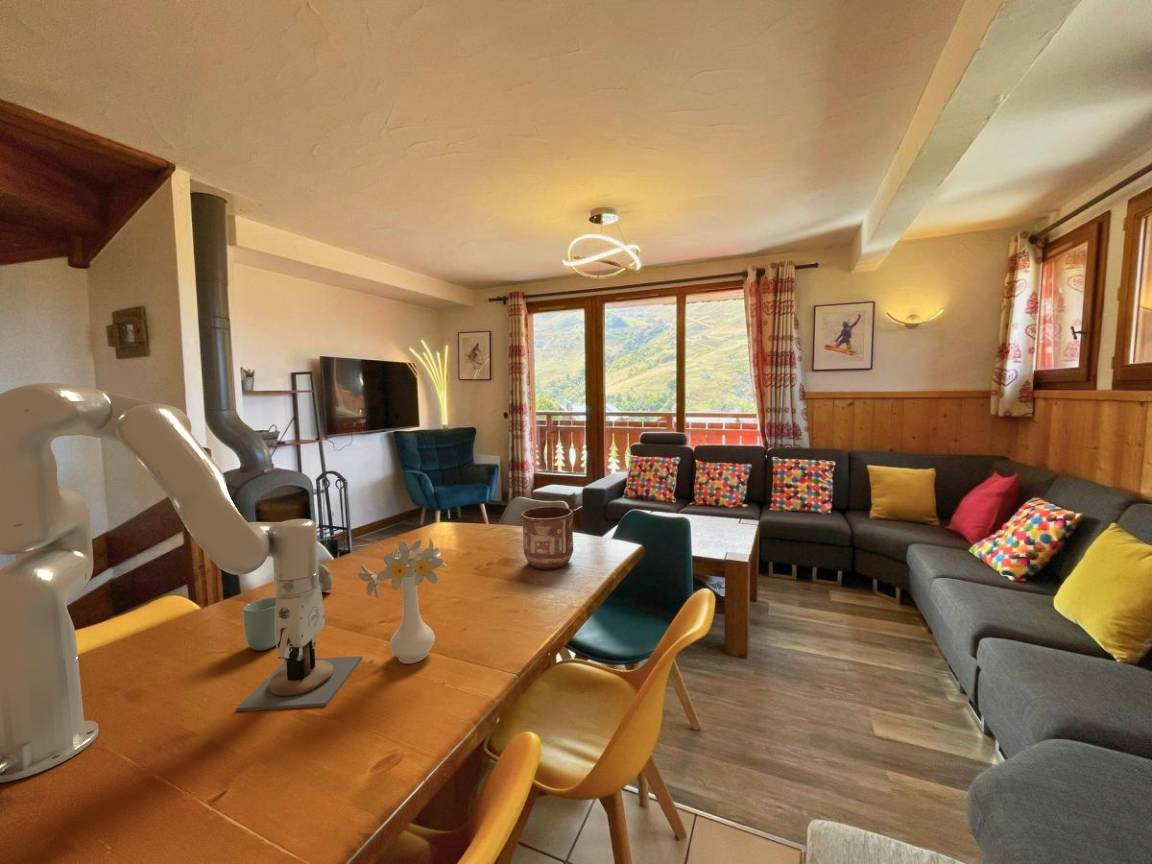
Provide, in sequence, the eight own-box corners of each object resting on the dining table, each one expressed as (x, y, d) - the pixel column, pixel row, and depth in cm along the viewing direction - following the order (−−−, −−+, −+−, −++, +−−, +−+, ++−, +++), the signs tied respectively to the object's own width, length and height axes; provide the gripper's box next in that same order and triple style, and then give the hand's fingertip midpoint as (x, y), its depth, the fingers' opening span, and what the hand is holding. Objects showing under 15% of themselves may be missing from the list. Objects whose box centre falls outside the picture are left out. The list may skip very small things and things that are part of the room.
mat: (326, 706, 85) (326, 702, 85) (236, 711, 85) (235, 708, 85) (362, 658, 101) (361, 656, 101) (286, 662, 101) (286, 660, 100)
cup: (266, 656, 103) (263, 612, 103) (237, 653, 105) (233, 610, 104) (294, 638, 111) (291, 598, 111) (266, 636, 113) (263, 596, 112)
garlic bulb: (332, 597, 135) (330, 564, 134) (298, 603, 132) (296, 568, 131) (336, 586, 144) (334, 554, 143) (304, 591, 141) (302, 558, 140)
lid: (316, 694, 88) (315, 658, 87) (256, 697, 87) (253, 662, 87) (342, 662, 98) (341, 631, 98) (288, 665, 98) (287, 633, 97)
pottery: (518, 559, 164) (516, 508, 163) (566, 553, 169) (564, 504, 168) (528, 577, 147) (526, 521, 146) (581, 569, 152) (579, 515, 151)
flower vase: (354, 672, 96) (347, 553, 95) (424, 633, 112) (419, 530, 111) (396, 690, 90) (389, 562, 88) (464, 646, 105) (459, 537, 104)
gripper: (293, 599, 84) (298, 698, 85) (336, 568, 100) (339, 651, 101) (250, 601, 83) (256, 700, 84) (300, 569, 100) (304, 653, 101)
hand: (301, 673), depth 93 cm, fingers closed on lid, 3 cm apart
